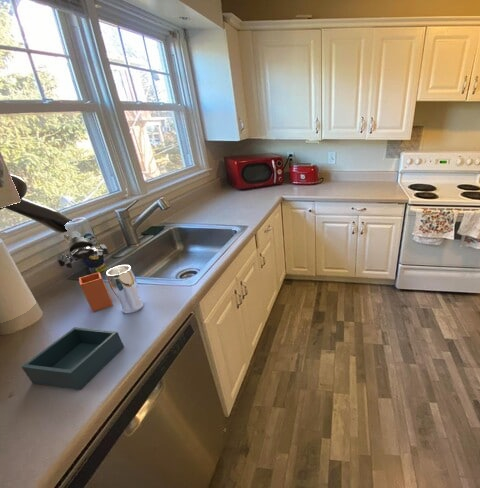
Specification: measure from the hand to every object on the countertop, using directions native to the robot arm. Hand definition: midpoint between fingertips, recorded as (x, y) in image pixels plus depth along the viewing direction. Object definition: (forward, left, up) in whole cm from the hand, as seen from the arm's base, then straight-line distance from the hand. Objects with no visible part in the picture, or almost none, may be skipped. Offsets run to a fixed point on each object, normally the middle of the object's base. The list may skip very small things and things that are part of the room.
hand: (85, 261), depth 99 cm
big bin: (+24, -30, -13) cm, 41 cm away
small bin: (+8, -7, -13) cm, 17 cm away
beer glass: (+20, -7, -13) cm, 25 cm away
